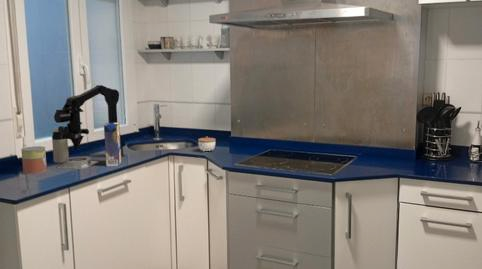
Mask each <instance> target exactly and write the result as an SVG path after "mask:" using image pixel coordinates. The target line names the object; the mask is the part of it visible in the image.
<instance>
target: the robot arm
mask: <svg viewBox="0 0 482 269" xmlns="http://www.w3.org/2000/svg"><path fill="white" fill-rule="evenodd" d="M97 95H102V96H103V97H104V101H105V103H106V105H107V116H108V117H107V118H108V123H118V109H117V105H118V103H119V100H120V92H119V90H117V89H113V88H109V87H107V86H104V85H102V84H100V85H99V84H97V85H95V86H94V87H92V88H90V89H88V90H86V91H85V92H83V93H80V94H78V95H73V96H69V97H68V98H67V97H66V101H65V104H64V105H63V107H62V109H56V110H55V113H54V116H53V118H54V121H55V123H58V124H60V123H66V126H63V125H62V126H58V128H57V129H58V132H59V133H61V134H62V135H61V138H62V139H68V140H70V141H71V143H72V145H73V147H74V150H75V151H76V150H79V147H80V145H81V143H82V140H83V138H85V137H84V136H85V135H88V134H90V130H89V129H88V128H82V125H83V121H81V113H83V112H84V110H83V109H82V108H81V107H83V105H84V104H85V103H86V102H87V101H88V100H90V99H91V100H92V98H95V97H97ZM67 122H68V123H67ZM83 134H84V135H83ZM124 147H126V142H125V141H124V140H123V139H122V136H121V134H120V149H121V158H123V157H124V156H125V154H124Z"/></svg>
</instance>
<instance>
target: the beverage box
mask: <svg viewBox="0 0 482 269" xmlns="http://www.w3.org/2000/svg"><path fill="white" fill-rule="evenodd" d="M103 131H104V132H103V134H104V152H105V154H104V155H105V167H118V165H119V166H120V165H121V162H122V157H121V149H120V135H121V133H120V132H121V131H120V122H117V123H109V122H106V123H105V124H104V125H103Z"/></svg>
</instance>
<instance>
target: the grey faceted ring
mask: <svg viewBox="0 0 482 269" xmlns="http://www.w3.org/2000/svg"><path fill="white" fill-rule="evenodd" d="M75 158H83V160H82V161H72V159H75ZM98 163H99V161H97V160H92V159H91V157H89V156H74V157H69V158H67V159H65V160H64V163H61V164H60V165H58V166H56V169H71V170H72V169H75V170H77V169H78V170H86V169H88V168H90V167H91V166H94V165H95V164H98Z"/></svg>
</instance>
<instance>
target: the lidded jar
mask: <svg viewBox="0 0 482 269" xmlns="http://www.w3.org/2000/svg"><path fill="white" fill-rule="evenodd" d="M197 140H198V148H199V149H200V151H201V150H202V151H211V150H212V151H214V150H215V148H216V138H214V137H209V136H205V137H201V138H198V139H197ZM202 151H201V152H202Z"/></svg>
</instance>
